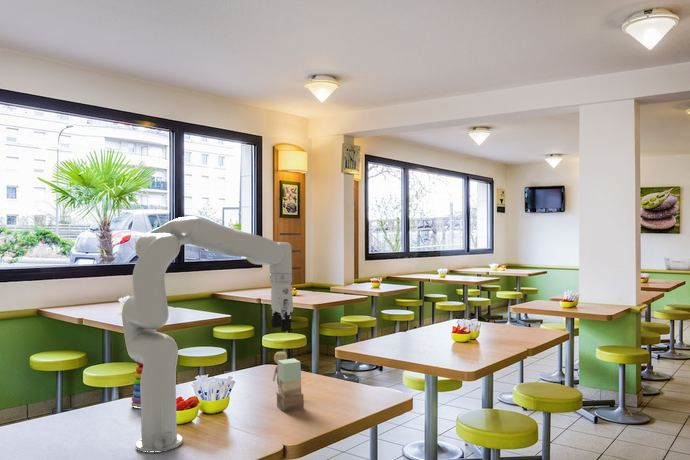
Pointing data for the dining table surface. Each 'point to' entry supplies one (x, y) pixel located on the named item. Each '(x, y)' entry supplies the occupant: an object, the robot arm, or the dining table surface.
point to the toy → (277, 357)
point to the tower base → (290, 402)
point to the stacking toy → (137, 386)
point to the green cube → (289, 370)
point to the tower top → (290, 388)
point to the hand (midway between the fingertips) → (281, 328)
